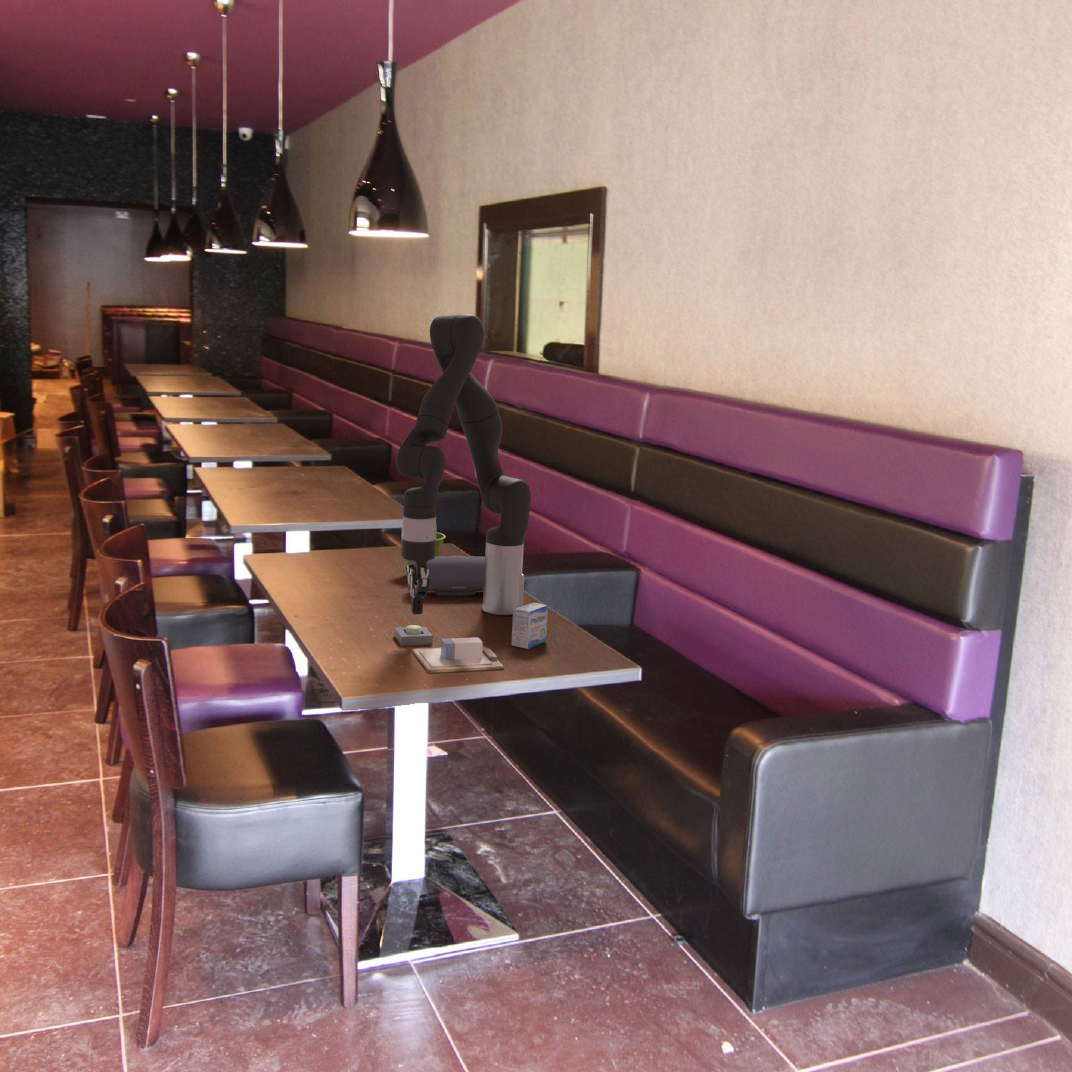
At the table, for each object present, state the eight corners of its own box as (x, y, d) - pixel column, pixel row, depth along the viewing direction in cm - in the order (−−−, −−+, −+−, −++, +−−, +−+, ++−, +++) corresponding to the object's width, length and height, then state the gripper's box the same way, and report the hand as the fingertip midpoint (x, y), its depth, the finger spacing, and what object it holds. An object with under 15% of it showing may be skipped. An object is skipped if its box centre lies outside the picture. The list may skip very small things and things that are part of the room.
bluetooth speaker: (493, 588, 297) (495, 552, 295) (502, 598, 288) (504, 560, 286) (408, 589, 290) (410, 552, 288) (414, 599, 282) (416, 560, 280)
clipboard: (484, 648, 245) (484, 642, 245) (503, 669, 232) (503, 662, 232) (412, 651, 239) (412, 645, 239) (428, 672, 227) (428, 666, 226)
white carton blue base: (477, 653, 239) (477, 637, 238) (481, 658, 236) (482, 642, 235) (440, 654, 236) (441, 638, 235) (445, 659, 233) (445, 643, 232)
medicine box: (527, 650, 246) (530, 612, 244) (510, 645, 248) (512, 608, 246) (546, 642, 253) (548, 605, 251) (529, 638, 255) (531, 601, 253)
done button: (419, 636, 250) (419, 624, 249) (422, 640, 246) (423, 629, 246) (404, 636, 248) (404, 625, 248) (407, 641, 245) (408, 629, 245)
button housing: (424, 635, 252) (425, 626, 251) (432, 644, 245) (432, 635, 245) (394, 636, 250) (394, 627, 249) (401, 645, 243) (401, 636, 243)
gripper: (443, 542, 238) (441, 621, 242) (428, 529, 250) (425, 604, 254) (409, 544, 235) (407, 622, 239) (395, 530, 247) (393, 605, 251)
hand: (416, 613), depth 246 cm, fingers closed
